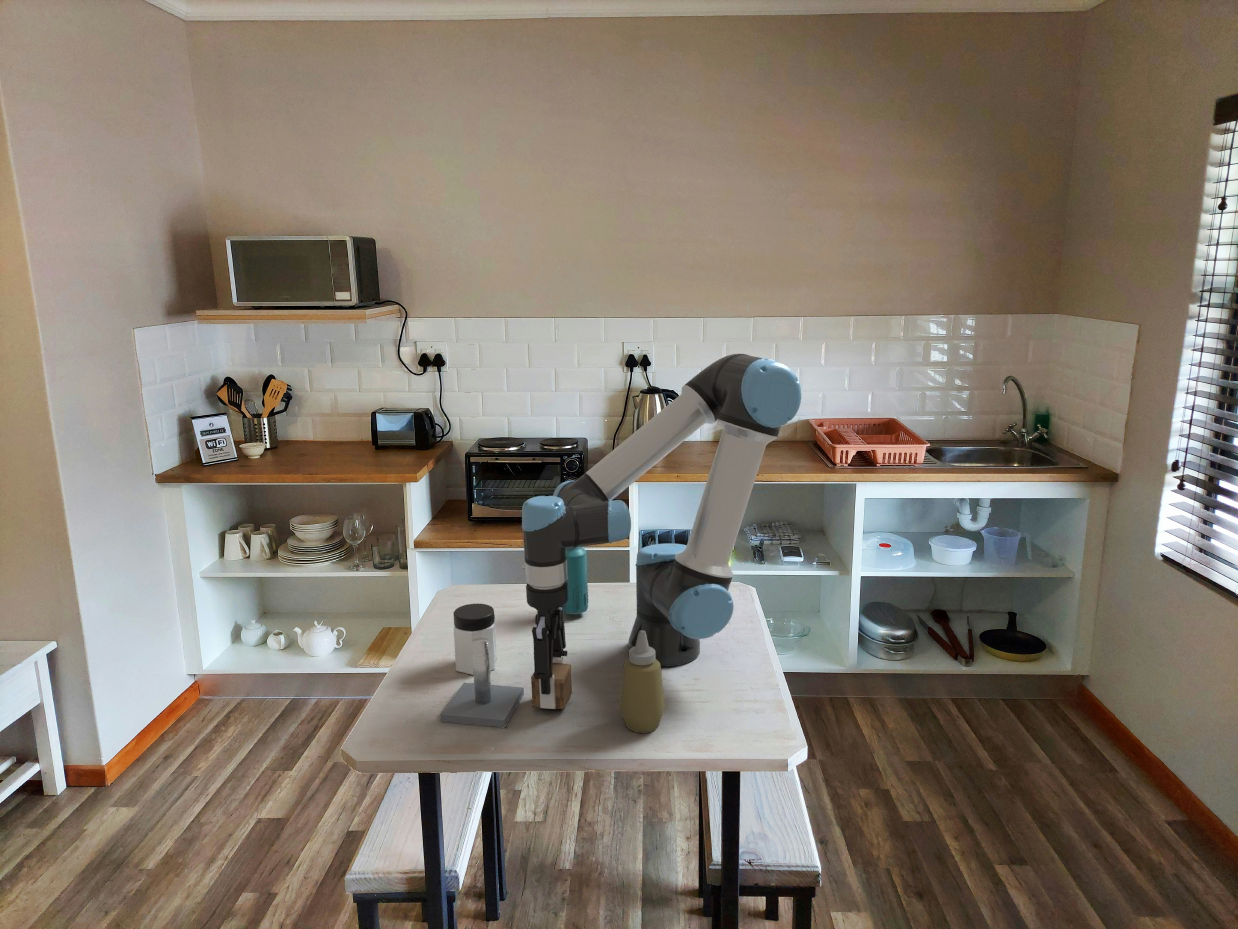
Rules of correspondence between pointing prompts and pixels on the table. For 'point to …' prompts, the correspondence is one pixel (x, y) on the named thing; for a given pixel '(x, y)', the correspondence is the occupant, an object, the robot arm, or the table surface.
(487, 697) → the post
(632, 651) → the squeeze bottle
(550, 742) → the table surface
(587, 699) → the table surface
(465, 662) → the jar
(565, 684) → the brown wooden cube
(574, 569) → the beverage bottle
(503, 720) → the base plate
